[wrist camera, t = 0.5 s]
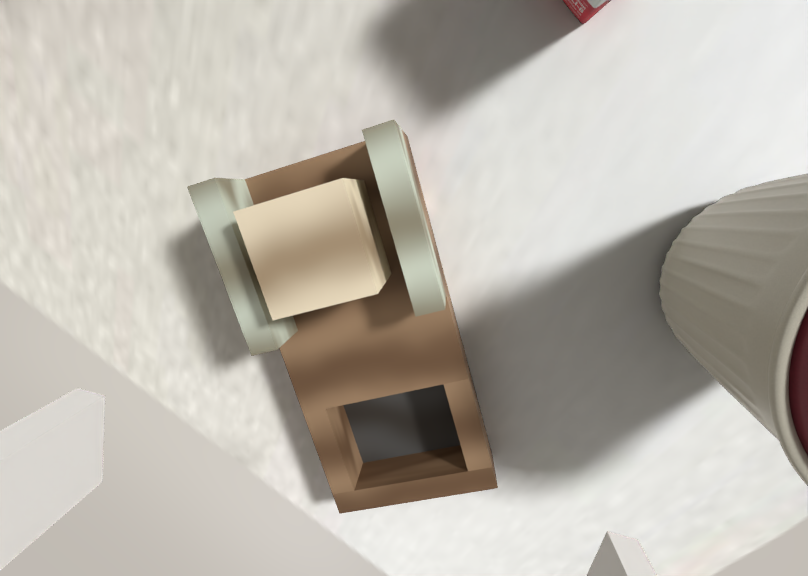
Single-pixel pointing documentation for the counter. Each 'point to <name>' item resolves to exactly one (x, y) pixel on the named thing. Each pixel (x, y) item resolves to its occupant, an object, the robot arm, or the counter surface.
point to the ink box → (585, 8)
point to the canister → (749, 303)
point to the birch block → (315, 247)
